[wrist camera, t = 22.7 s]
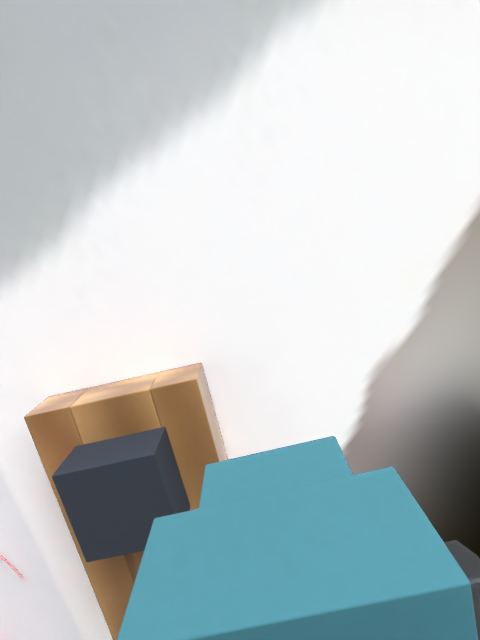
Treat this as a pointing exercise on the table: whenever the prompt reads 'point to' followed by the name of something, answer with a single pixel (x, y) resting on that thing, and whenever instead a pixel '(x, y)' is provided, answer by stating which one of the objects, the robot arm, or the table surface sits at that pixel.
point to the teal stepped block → (299, 558)
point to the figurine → (11, 566)
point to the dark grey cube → (120, 491)
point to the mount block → (123, 419)
